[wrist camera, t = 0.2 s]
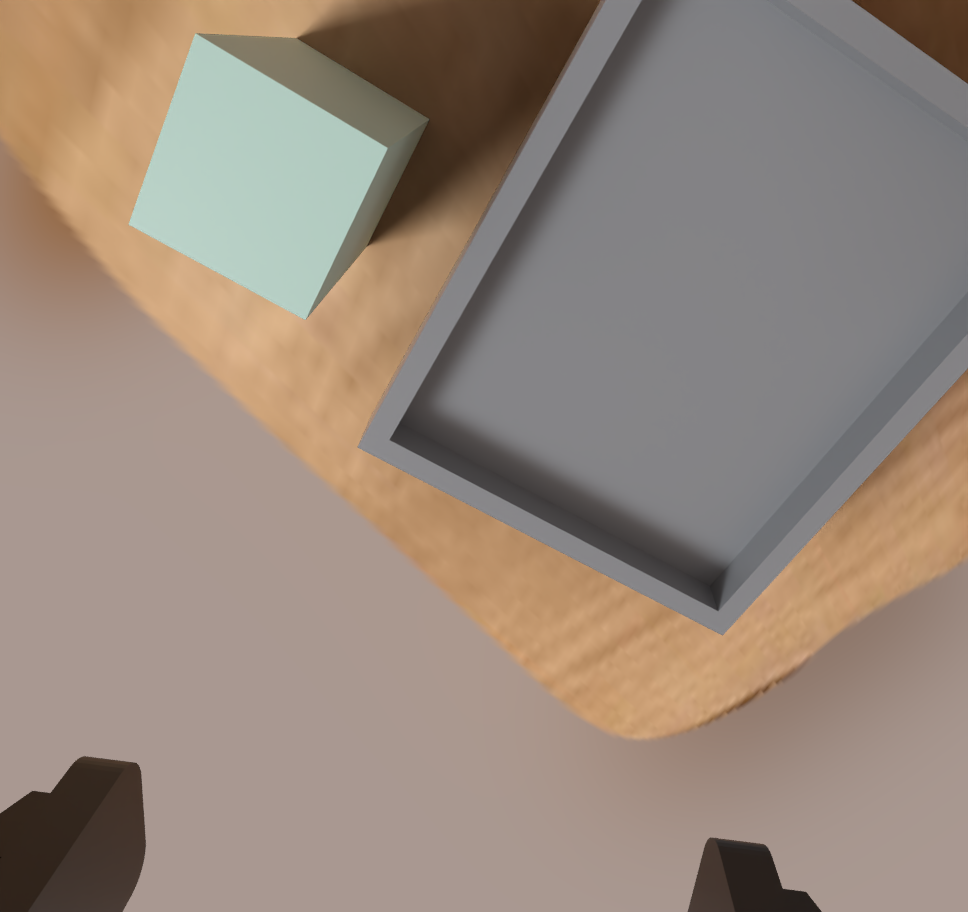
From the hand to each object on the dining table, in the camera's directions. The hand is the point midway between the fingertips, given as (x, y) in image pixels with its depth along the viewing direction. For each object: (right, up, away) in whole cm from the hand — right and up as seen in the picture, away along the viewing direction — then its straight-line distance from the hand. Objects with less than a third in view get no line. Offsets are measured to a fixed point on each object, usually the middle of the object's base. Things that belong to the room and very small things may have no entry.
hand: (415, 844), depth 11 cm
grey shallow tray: (+8, +12, +18) cm, 23 cm away
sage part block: (-4, +16, +17) cm, 24 cm away
